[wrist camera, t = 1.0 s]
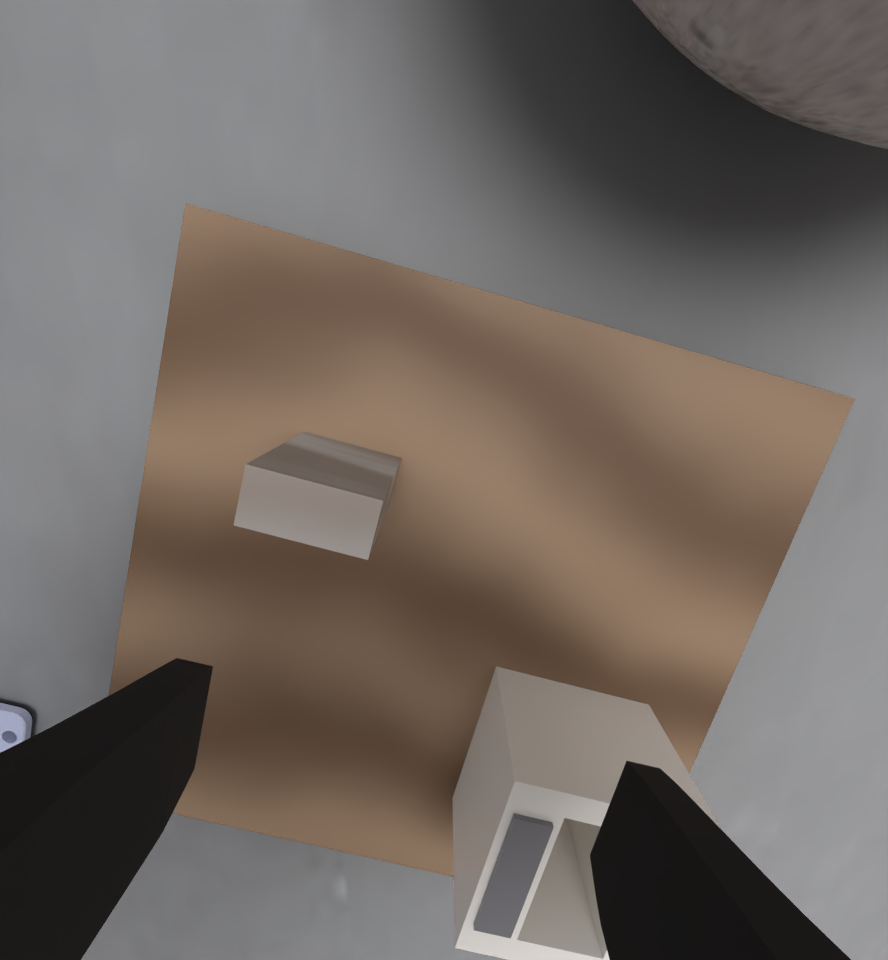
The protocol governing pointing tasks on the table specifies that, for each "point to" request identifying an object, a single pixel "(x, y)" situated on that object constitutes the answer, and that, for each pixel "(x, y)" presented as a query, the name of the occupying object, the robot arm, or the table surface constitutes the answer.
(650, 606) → the base
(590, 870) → the cube with recessed slot
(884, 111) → the grey concrete ball
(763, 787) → the table surface
